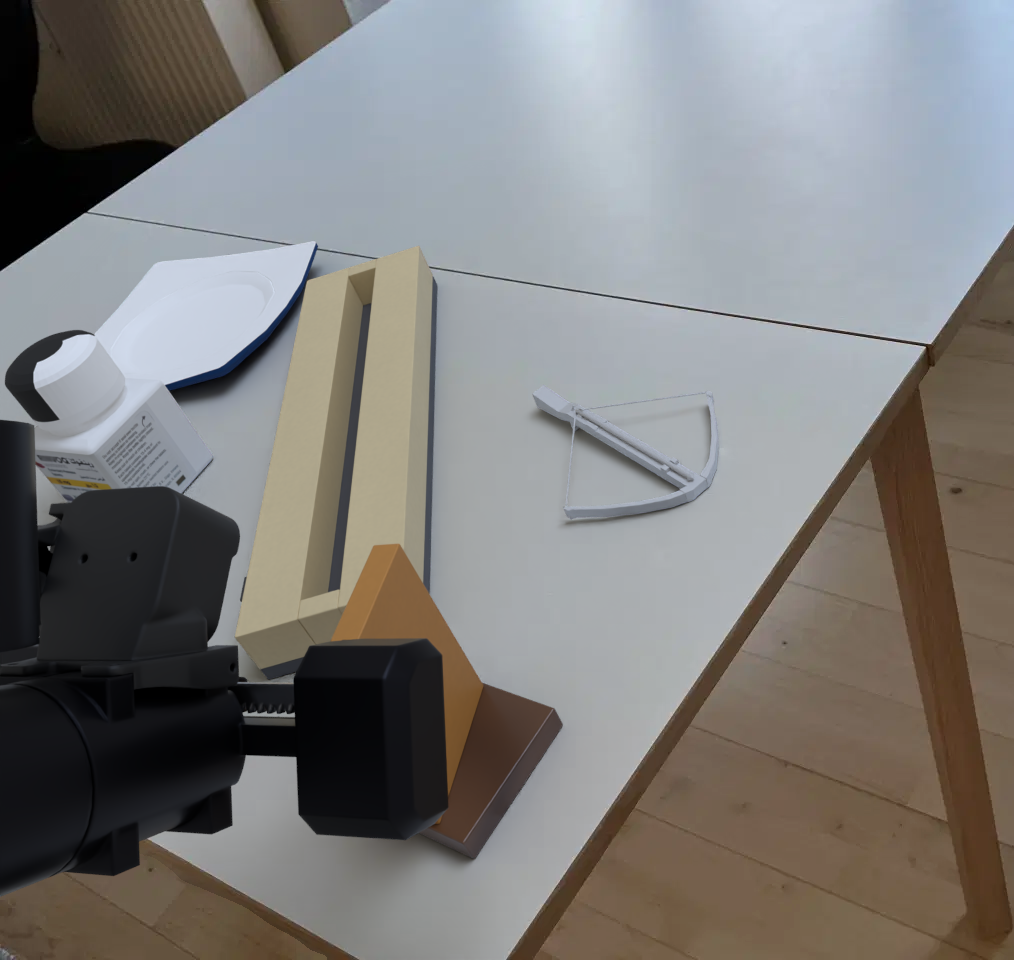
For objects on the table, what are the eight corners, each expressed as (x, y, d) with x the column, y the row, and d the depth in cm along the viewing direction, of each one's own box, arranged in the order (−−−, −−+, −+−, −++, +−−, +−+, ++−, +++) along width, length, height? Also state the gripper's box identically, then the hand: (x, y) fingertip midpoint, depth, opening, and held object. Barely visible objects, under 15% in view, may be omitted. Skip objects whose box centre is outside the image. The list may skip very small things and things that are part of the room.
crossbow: (774, 441, 69) (769, 417, 68) (629, 566, 65) (621, 543, 63) (609, 354, 79) (602, 331, 78) (473, 457, 75) (463, 435, 73)
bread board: (474, 860, 52) (463, 843, 51) (356, 804, 56) (343, 788, 55) (564, 724, 57) (554, 707, 56) (448, 682, 61) (438, 666, 60)
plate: (242, 400, 89) (225, 374, 87) (48, 415, 96) (29, 391, 94) (343, 258, 103) (330, 233, 101) (168, 280, 110) (153, 257, 108)
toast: (440, 824, 52) (338, 686, 45) (413, 824, 53) (308, 686, 46) (484, 685, 58) (399, 542, 51) (460, 686, 58) (373, 544, 51)
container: (79, 520, 82) (-35, 385, 74) (146, 449, 87) (46, 316, 79) (151, 530, 79) (40, 390, 71) (217, 456, 84) (120, 317, 75)
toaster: (429, 634, 64) (401, 589, 61) (255, 683, 65) (220, 641, 62) (437, 284, 94) (419, 245, 92) (319, 321, 95) (297, 283, 92)
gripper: (278, 488, 29) (528, 489, 44) (-214, 516, 35) (151, 508, 50) (294, 915, 29) (540, 771, 44) (-205, 869, 35) (160, 756, 50)
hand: (335, 690), depth 47 cm, fingers open, 9 cm apart
